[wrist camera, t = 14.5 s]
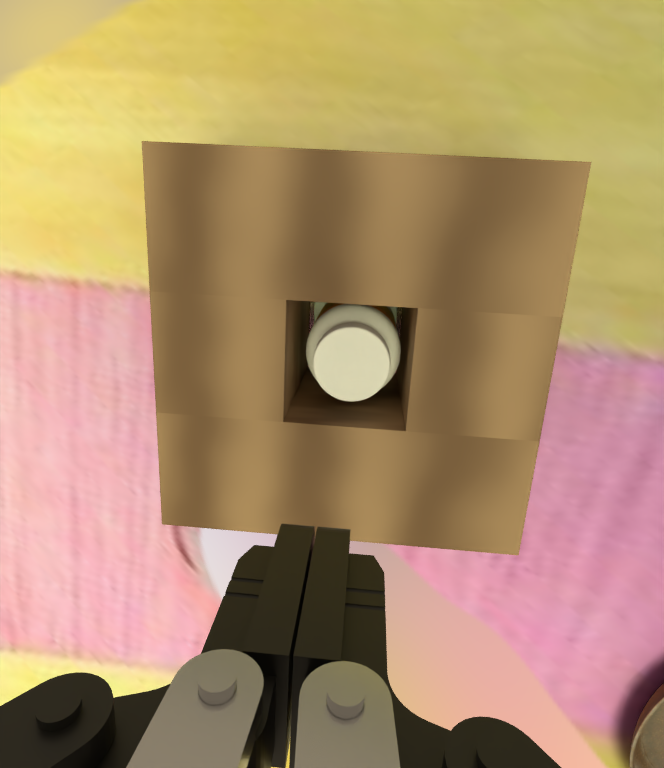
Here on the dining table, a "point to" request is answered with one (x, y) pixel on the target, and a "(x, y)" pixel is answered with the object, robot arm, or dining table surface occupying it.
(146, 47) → the dining table surface
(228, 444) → the walnut block
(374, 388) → the supplement bottle
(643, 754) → the plant saucer
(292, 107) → the dining table surface
